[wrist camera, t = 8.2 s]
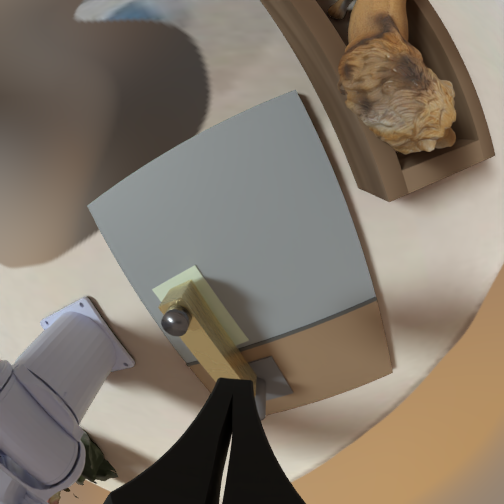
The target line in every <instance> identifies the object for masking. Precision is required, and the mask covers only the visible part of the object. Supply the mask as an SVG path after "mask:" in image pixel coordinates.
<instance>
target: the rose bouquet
mask: <svg viewBox="0 0 504 504" xmlns="http://www.w3.org/2000/svg"><path fill="white" fill-rule="evenodd" d="M83 431H84V430H83ZM80 440H81V441H82V443H83V444H84V447H85V452H86V457H85V465H84V469H83V471H82V474H81V475H80V477H79V478H78V480H77V481H76V483H77V484H80V485H84V484H83V481H84V480H85V479H88V480H89V481H91V482H94V480H95V479H97V480H101V481H106V480H107V479H109V478H115V477H118V475H117V473H114V472H112V471H111V470H113V471H115V469H114V468H113V467H112V466H111V465H110V463H109V462H108V461H106V460H105V459H104V456H103V454H102V452H101V451H100V449H99V448H98V447H97V446H96V445H95V444H94V443H93V442H92V441H91V440H90V439H89V436H88V435H87V433H86V432H85V431H84V433H83V435H82V437H81V439H80ZM115 472H116V471H115ZM94 483H96V482H94ZM96 484H97V483H96ZM63 490H64V491H67V492H69V491H70V490H69V488H66V489H63ZM60 492H61V491H59V492H57V493H56V494H54V495H53V496H52V497H51V498H49V500H48V501H47V503H49V504H58V503H59V500H60ZM75 497H76V496H75Z"/></svg>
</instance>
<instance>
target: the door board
mask: <svg viewBox="0 0 504 504" xmlns="http://www.w3.org/2000/svg"><path fill="white" fill-rule="evenodd" d="M88 208H89V210H90V212H91V214H92V216H93V218H94V220H95V222H96V224H97V226H98V228H99V230H100V232H101V234H102V235H103V237H104V239H105V241H106V243H107V245H108V246H109V248H110V250H111V252H112V253H113V255H114V257H115V259H116V260H117V262H118V264H119V266H120V267H121V269H122V271H123V272H124V274H125V276H126V277H127V279H128V280H129V282H130V284H131V285H132V287H133V288H134V290H135V292H136V293H137V295H138V296H139V298H140V299H141V301H142V302H143V304H144V305H145V307H146V308H147V310H148V311H149V313H150V314H151V316H152V317H153V319H154V320H155V322H156V323H157V324H158V326H159V327H160V329H161V330H162V331H163V333H164V334H165V336H166V337H167V338H168V340H169V341H170V342H171V344H172V345H173V347H174V348H175V349H176V351H177V352H178V353H179V354H180V356H181V357H182V358H183V360H184V361H185V362H186V365H187V366H189V367H190V369H191V370H192V371H193V372H194V373H195V375H196V376H197V377H198V378H199V380H200V381H201V382H202V383H203V384H204V386H205V387H206V388H207V389H208V390H209V391H210V393H211V392H212V390H213V388H214V386H215V384H216V382H215V381H214V379H213V378H212V377H211V376H210V375H209V373H208V372H207V371H206V370H205V369H204V367H203V366H202V365H201V364H200V362H199V361H198V360H197V359H196V357H195V356H194V355H193V354H192V352H191V351H190V350H189V349H188V347H187V346H186V345H185V343H184V342H183V341H182V339H181V338H180V337H179V336H172V335H170V334H168V333H167V332H166V331H165V330H164V329H163V327H162V325H161V320H162V318H163V316H164V315H163V314H162V312H161V311H160V309H159V308H158V307H159V305H160V303H161V302H162V300H163V299H164V297H165V296H166V294H167V293H168V291H169V290H170V289H171V288H173V287H175V286H178V285H180V284H182V283H184V282H186V281H188V280H191V279H192V281H193V282H194V284H195V286H196V287H197V289H198V290H199V292H200V293H201V295H202V297H203V298H204V300H205V301H206V303H207V304H208V306H209V307H210V309H211V310H212V312H213V313H214V315H215V316H216V318H217V319H218V321H219V322H220V324H221V325H222V327H223V328H224V330H225V331H226V333H227V334H228V336H229V337H230V338H231V340H232V341H233V343H234V344H235V346H236V347H237V348H238V350H239V351H240V353H241V354H242V356H243V357H244V358H245V360H246V361H247V363H248V364H249V365H250V367H251V368H252V369H253V371H254V372H255V374H256V375H257V380H256V396H255V402H256V406H257V410H258V414H259V417H260V420H263V419H264V418H265V415H269V414H274V413H278V412H282V411H286V410H289V409H293V408H297V407H300V406H304V405H307V404H310V403H314V402H317V401H320V400H323V399H326V398H329V397H332V396H335V395H338V394H341V393H344V392H346V391H349V390H352V389H355V388H357V387H360V386H362V385H365V384H367V383H370V382H372V381H375V380H377V379H379V378H382V377H384V376H386V375H389V374H391V373H393V372H392V366H391V361H390V355H389V350H388V345H387V341H386V336H385V332H384V327H383V323H382V319H381V314H380V310H379V306H378V303H377V298H376V295H375V291H374V288H373V284H372V280H371V277H370V273H369V270H368V267H367V263H366V260H365V257H364V254H363V250H362V247H361V244H360V241H359V238H358V235H357V232H356V229H355V226H354V223H353V221H352V218H351V215H350V212H349V209H348V207H347V204H346V201H345V199H344V196H343V193H342V191H341V188H340V186H339V183H338V181H337V178H336V176H335V173H334V171H333V168H332V166H331V164H330V161H329V159H328V157H327V154H326V152H325V150H324V147H323V145H322V143H321V141H320V139H319V136H318V134H317V132H316V130H315V128H314V126H313V124H312V121H311V119H310V117H309V115H308V113H307V111H306V109H305V107H304V105H303V103H302V101H301V99H300V97H299V95H298V94H297V92H296V90H294V91H291V92H288V93H286V94H283V95H281V96H278V97H276V98H273V99H271V100H269V101H266V102H264V103H262V104H259V105H257V106H255V107H252V108H250V109H248V110H246V111H244V112H241V113H239V114H237V115H235V116H233V117H231V118H229V119H227V120H225V121H223V122H221V123H219V124H217V125H215V126H213V127H211V128H209V129H207V130H205V131H203V132H201V133H199V134H198V135H196V136H194V137H192V138H190V139H188V140H187V141H185V142H183V143H181V144H180V145H178V146H176V147H174V148H173V149H171V150H169V151H167V152H166V153H164V154H162V155H161V156H159V157H158V158H156V159H154V160H153V161H151V162H149V163H148V164H146V165H145V166H143V167H142V168H140V169H139V170H137V171H135V172H134V173H133V174H131V175H129V176H128V177H126V178H125V179H124V180H122V181H121V182H119V183H118V184H116V185H115V186H113V187H112V188H111V189H109V190H108V191H107V192H105V193H104V194H102V195H101V196H100V197H98V198H97V199H96V200H94V201H93V202H92V203H90V204H89V205H88Z"/></svg>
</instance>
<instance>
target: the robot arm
mask: <svg viewBox="0 0 504 504" xmlns="http://www.w3.org/2000/svg"><path fill="white" fill-rule="evenodd" d="M82 303H83V304H82ZM40 324H41V326H42V327H43V329H44V331H43V332H42V333H41V334H40V335H39V336H38V337H37V338H36V339H35V340H34V341H33V342H32V343H31V344H30V345H29V346H28V347H27V348H26V349H25V351H24V352H23V353H22V354H21V355H20V356H19V357H18V358H17V360H16V361H15V363H14V364H13V365H11V364H10V363H9V362H8V361H7V360H4V361H3V360H0V504H49V503H47V501H48V500H49V498H51V497H52V496H53V495H54V494H56V493H57V492H59V491H61V490H63V489H66V488H68V487H70V486H71V485H73V484H74V483H75V482H76V481H77V480H78V478H79V477H80V475H81V474H82V471H83V469H84V465H85V457H86V452H85V447H84V444H83V443H82V441H81V440H80V439H81V437H82V435H83V433H84V431H83V430H82V429H81V428H80V426H79V424H80V422H81V420H82V419H83V417H84V415H85V413H86V412H87V410H88V408H89V406H90V405H91V403H92V401H93V400H94V398H95V396H96V395H97V393H98V391H99V390H100V388H101V386H102V385H103V383H104V381H105V380H106V378H107V376H108V375H109V373H110V372H113V371H118V370H122V369H127V368H131V367H134V365H135V361H134V360H133V359H132V357H131V356H130V355H129V354H128V352H127V351H126V350H125V349H124V347H123V346H122V345H121V343H120V342H119V341H118V339H117V338H116V337H115V335H114V334H113V333H112V331H111V330H110V329H109V327H108V326H107V324H106V323H105V322H104V320H103V319H102V317H101V316H100V314H99V313H98V311H97V310H96V309H95V307H94V306H93V304H92V302H91V301H90V300H89V298H87V297H82V298H81V299H79V300H77V301H75V302H73V303H71V304H69V305H68V306H66V307H64V308H62V309H60V310H58V311H57V312H55V313H53V314H51V315H49V316H48V317H46V318H44V319H42V320H41V321H40ZM231 435H232V444H231V451H230V458H229V465H228V472H227V478H226V485H225V491H224V497H223V503H222V504H306V503H305V502H304V501H303V499H302V498H301V497H300V496H299V494H298V493H297V492H296V490H295V489H294V487H293V486H292V484H291V483H290V481H289V480H288V478H287V477H286V475H285V473H284V472H283V470H282V468H281V466H280V465H279V463H278V461H277V459H276V457H275V455H274V453H273V451H272V449H271V447H270V444H269V442H268V440H267V437H266V435H265V432H264V429H263V427H262V424H261V420H260V417H259V414H258V410H257V406H256V402H255V397H254V389H253V381H251V380H243V379H231V378H221V377H220V378H218V379H217V382H216V384H215V386H214V388H213V390H212V392H211V394H210V396H209V398H208V400H207V401H206V403H205V405H204V406H203V408H202V409H201V411H200V412H199V414H198V415H197V417H196V418H195V420H194V421H193V422H192V424H191V425H190V426H189V427H188V429H187V430H186V431H185V433H184V434H183V435H182V436H181V437H180V438H179V440H178V441H177V442H176V443H175V444H174V445H173V446H172V447H171V448H170V449H169V450H168V451H167V452H166V453H165V454H164V455H163V456H162V457H161V458H160V459H159V460H157V461H156V462H155V463H154V464H153V465H152V466H150V467H149V468H148V469H146V470H145V471H144V472H142V473H141V474H140V475H138V476H137V477H135V478H134V479H132V480H131V481H129V482H128V483H126V484H124V485H123V486H121V487H119V488H117V489H116V490H114V491H112V492H111V493H110V494H109V495H108V497H107V498H106V500H105V502H104V503H103V504H219V497H220V489H221V480H222V475H223V470H224V465H225V461H226V457H227V452H228V448H229V444H230V439H231Z"/></svg>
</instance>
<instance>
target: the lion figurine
mask: <svg viewBox="0 0 504 504" xmlns="http://www.w3.org/2000/svg"><path fill="white" fill-rule="evenodd" d="M352 1H353V0H338V1H337V2H336V3H335V4H333V5H332V6H331V7H329V9H328V14H329V15H330V16H331V17H333V18H336V19H342V18H343V17H344V16H345V14H346V10H347V7H348V6H349V4H350V3H351V2H352ZM348 43H349V44H348V45H347V47H346V48H345V53H344V54H343V55H342V58H341V60H340V62H339V65H338V73H339V75H340V80H339V82H338V84H337V86H338V90H339V91H340V93H341V94H342V95H346V94H347V99H346V100H345V104H346V106H347V107H348V108H349V109H350V110H351V111H352V112H354V113H355V114H356V116H357V117H358V118H360V119H361V120H362V121H363V122H364V124H366V125H367V126H369V129H370V130H371V131H372V132H373V133H374V134H375V136H376V137H379V138H380V140H382V141H384V142H386V143H388V144H389V145H390V146H391V147H392V148H393V149H394V150H396V151H398V152H401V153H403V154H409V153H412V152H420V151H427V152H430V151H432V150H434V148H445V147H451V146H452V145H453V144H454V143H455V140H456V135H455V132H454V131H453V130H452V128H451V126H452V123H453V122H455V121H456V111H455V108H454V106H455V102H454V97H455V92H454V90H453V85H452V83H451V82H450V81H447V80H440V79H438V77H437V76H436V74H435V73H434V72H433V71H432V70H431V69H430V68H427V67H426V65H425V63H424V62H423V58H422V54H421V53H420V51H419V50H417V49H416V48H415V47H414V46H412V45H411V44H410V43H408V20H407V14H406V0H357V1H356V3H355V5H354V7H353V9H352V12H351V16H350V22H349V27H348ZM341 86H343V88H344V90H342V89H340V87H341Z"/></svg>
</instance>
